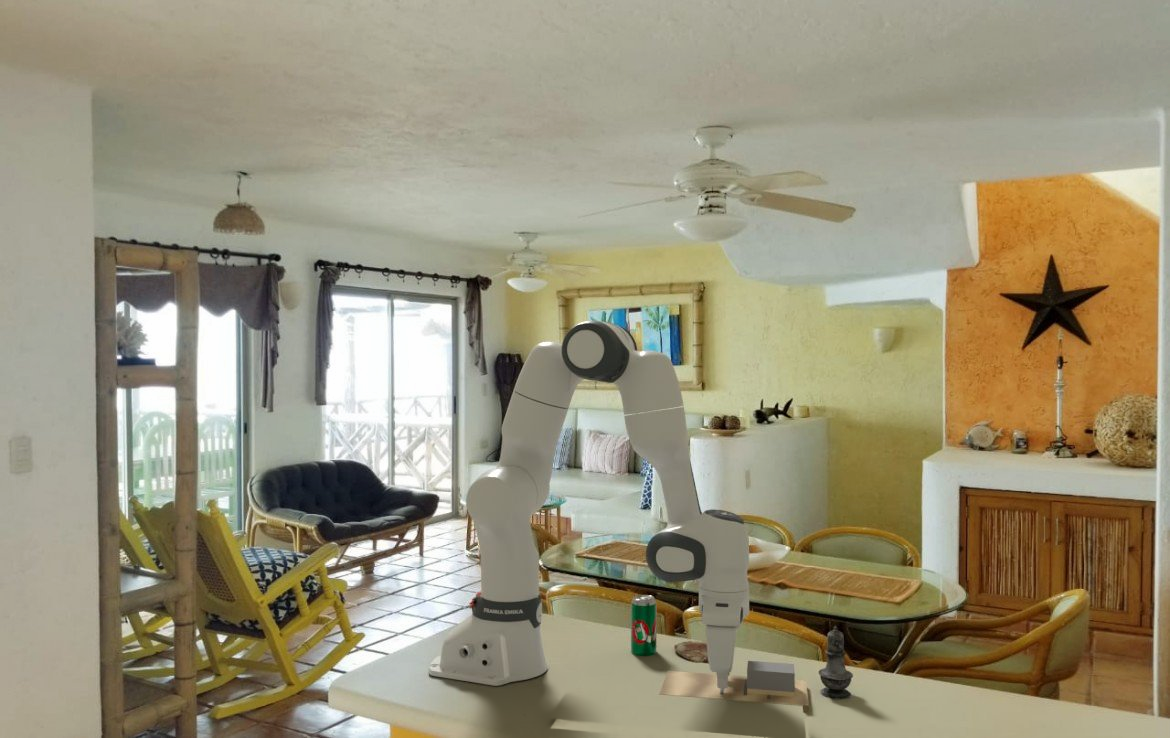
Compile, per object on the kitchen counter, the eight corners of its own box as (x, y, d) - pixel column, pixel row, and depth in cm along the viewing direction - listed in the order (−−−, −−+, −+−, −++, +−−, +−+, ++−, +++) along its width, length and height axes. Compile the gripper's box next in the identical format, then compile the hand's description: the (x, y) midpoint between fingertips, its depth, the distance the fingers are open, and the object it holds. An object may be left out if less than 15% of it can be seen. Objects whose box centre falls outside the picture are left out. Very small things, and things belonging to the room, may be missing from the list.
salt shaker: (817, 697, 150) (816, 628, 150) (820, 686, 156) (819, 619, 156) (852, 701, 148) (852, 631, 148) (854, 690, 154) (853, 622, 154)
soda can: (647, 652, 175) (647, 593, 175) (661, 659, 171) (661, 598, 171) (626, 656, 173) (626, 596, 173) (640, 663, 168) (640, 602, 168)
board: (659, 700, 149) (659, 693, 149) (667, 677, 161) (667, 670, 161) (808, 712, 143) (808, 705, 143) (806, 687, 155) (806, 680, 155)
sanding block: (747, 693, 149) (747, 669, 149) (747, 683, 154) (747, 660, 154) (794, 696, 147) (794, 673, 147) (794, 686, 152) (793, 663, 152)
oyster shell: (670, 650, 178) (669, 635, 178) (718, 648, 179) (717, 633, 179) (679, 672, 165) (679, 655, 165) (731, 670, 165) (730, 653, 165)
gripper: (710, 587, 163) (709, 660, 163) (701, 617, 143) (701, 700, 143) (743, 589, 162) (743, 663, 162) (739, 619, 142) (739, 703, 142)
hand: (723, 681), depth 152 cm, fingers open, 4 cm apart
